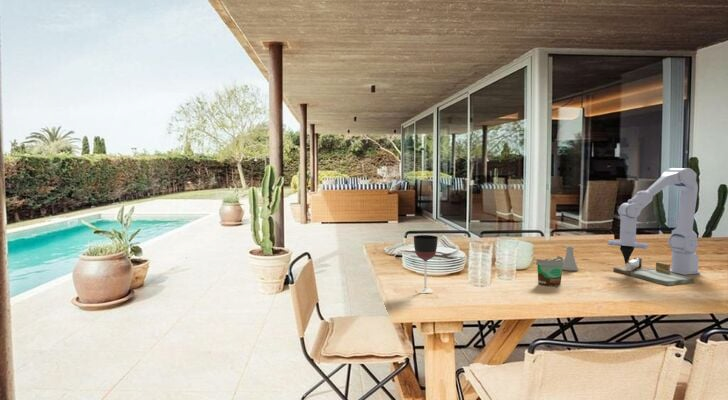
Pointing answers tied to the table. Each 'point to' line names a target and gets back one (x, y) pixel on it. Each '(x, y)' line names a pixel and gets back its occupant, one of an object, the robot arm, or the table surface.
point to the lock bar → (633, 264)
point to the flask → (570, 260)
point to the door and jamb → (656, 274)
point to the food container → (550, 271)
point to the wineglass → (425, 251)
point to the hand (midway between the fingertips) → (626, 264)
